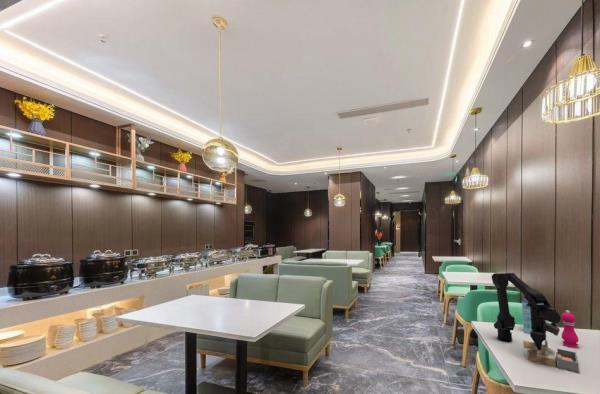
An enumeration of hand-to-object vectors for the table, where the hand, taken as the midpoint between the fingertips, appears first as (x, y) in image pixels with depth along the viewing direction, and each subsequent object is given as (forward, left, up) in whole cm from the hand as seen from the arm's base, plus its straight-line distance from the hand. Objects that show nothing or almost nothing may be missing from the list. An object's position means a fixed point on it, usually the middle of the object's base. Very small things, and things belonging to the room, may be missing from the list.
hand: (539, 347), depth 151 cm
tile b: (+10, +3, -4) cm, 11 cm away
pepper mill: (+13, +31, -6) cm, 34 cm away
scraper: (-2, 0, -2) cm, 3 cm away
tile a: (+7, -3, -3) cm, 8 cm away
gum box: (-3, +47, -6) cm, 47 cm away
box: (+10, 0, -6) cm, 12 cm away
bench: (+1, 0, -5) cm, 6 cm away
